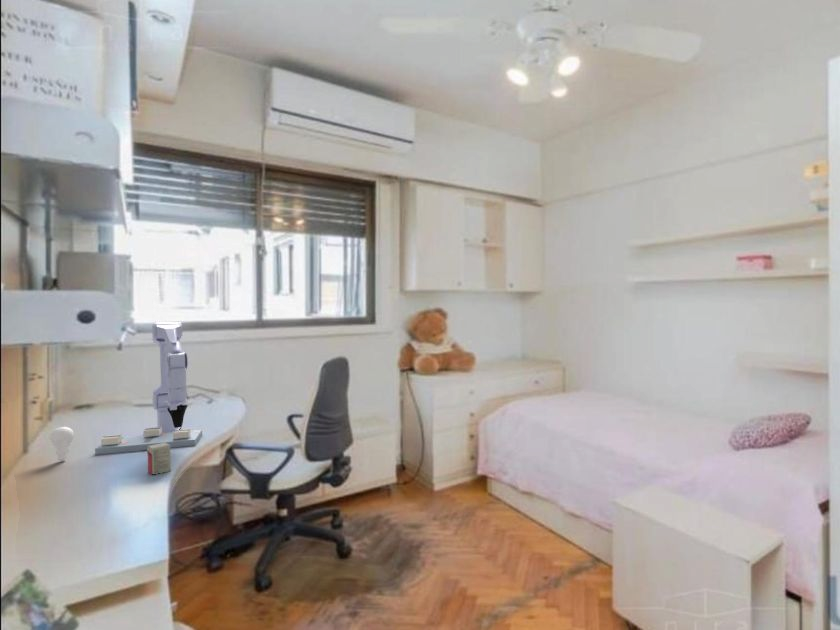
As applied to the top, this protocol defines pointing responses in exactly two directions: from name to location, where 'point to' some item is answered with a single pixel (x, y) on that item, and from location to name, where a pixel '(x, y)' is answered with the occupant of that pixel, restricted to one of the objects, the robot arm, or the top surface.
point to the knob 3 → (181, 433)
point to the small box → (159, 458)
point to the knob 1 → (111, 440)
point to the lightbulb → (62, 441)
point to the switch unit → (148, 442)
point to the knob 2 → (152, 431)
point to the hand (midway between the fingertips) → (178, 427)
